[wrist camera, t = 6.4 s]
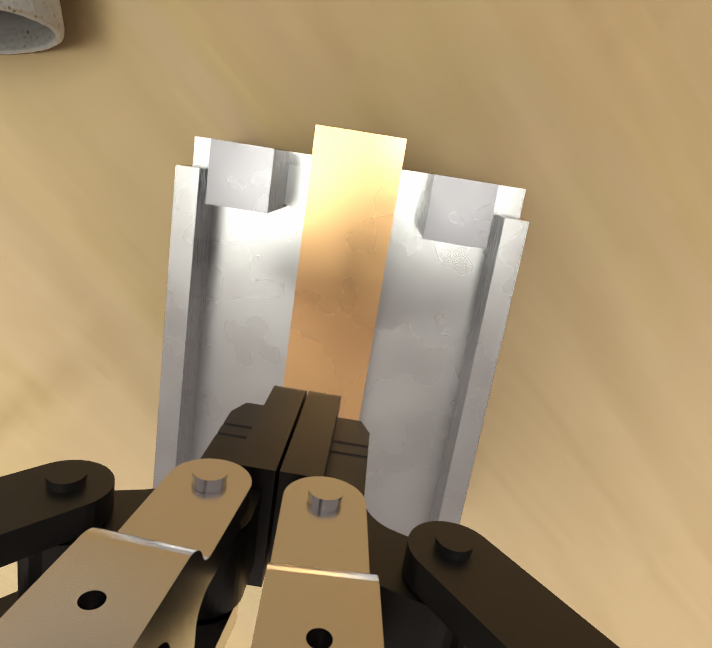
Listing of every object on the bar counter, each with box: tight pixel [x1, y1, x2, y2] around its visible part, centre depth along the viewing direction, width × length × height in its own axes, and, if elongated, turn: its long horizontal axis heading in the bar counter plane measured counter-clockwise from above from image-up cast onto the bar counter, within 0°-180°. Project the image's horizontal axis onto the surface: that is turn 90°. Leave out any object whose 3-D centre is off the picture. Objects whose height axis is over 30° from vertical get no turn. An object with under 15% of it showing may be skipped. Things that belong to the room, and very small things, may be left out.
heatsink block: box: [153, 136, 529, 536], centre depth 24 cm, size 16×12×8 cm
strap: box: [283, 125, 407, 421], centre depth 22 cm, size 17×4×2 cm, turn 171°
